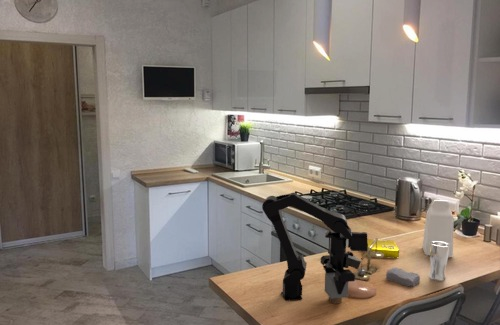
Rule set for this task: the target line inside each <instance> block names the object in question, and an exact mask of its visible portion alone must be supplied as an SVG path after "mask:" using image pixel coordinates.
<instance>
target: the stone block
mask: <svg viewBox="0 0 500 325" xmlns="http://www.w3.org/2000/svg"><path fill="white" fill-rule="evenodd" d="M385 276H386V280H388V281H392V282H394V283H397V284H400V285H404V286H406V287H412V288H413V287H415V286H416V285H417V284H419V283H420V280H421V277H420V274H419V273H415V272H411V271H410V272H408V271H407V270H404V269H401V268H399V267H392V268H390V269H388V270H386V274H385Z"/></svg>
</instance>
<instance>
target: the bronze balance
mask: <svg viewBox="0 0 500 325" xmlns="http://www.w3.org/2000/svg"><path fill="white" fill-rule="evenodd" d="M377 240H379V239H378V238H375V240H374V242H373V243H372V244H371V246H370V247H368V250H367V252H364V254H363V255H362V256H361V257H360V261H361V263H360V266H361V267H359V268H358V269H357V271H356V272H352V273H353V274H354V275H355V280H361V281H368V280H370V278H371V276H372V275H373V274H374V273H375V272H376V271H377V270H378V266H374V265H371V258H372V259H383V257H384V254H383V253H381V252H376V251H371V248H372V247H373V246H374V244H375V243H376V249H377ZM367 254H368V256H367ZM366 256H367V264H365V265H364V266H363V260H364V259H365V258H366Z"/></svg>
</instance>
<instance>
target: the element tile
mask: <svg viewBox="0 0 500 325" xmlns="http://www.w3.org/2000/svg"><path fill="white" fill-rule="evenodd" d="M375 239H376V238H375ZM375 239H373V238H372V239H369V238H367V243H368V247H370V246H371V244H372V243H373V242H374V240H375ZM371 251H376V252H381V253H383V254H384V257H394V258H393V259H398V258H397V257H399V256H400V249H399V247H398V245H397V243H396V242H395V241H394V240H391V239H378V240H377V249H376V243H375V244H374V246H373V247H372V248H371ZM366 256H367V257H368V254H367V255H366ZM399 258H400V257H399Z"/></svg>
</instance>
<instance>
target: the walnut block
mask: <svg viewBox="0 0 500 325" xmlns="http://www.w3.org/2000/svg"><path fill="white" fill-rule="evenodd" d="M328 300H329V301H330V302H331V304H341V303H343V301H342V300H343V298H333V299H331V298H330V297H329V296H328Z"/></svg>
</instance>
